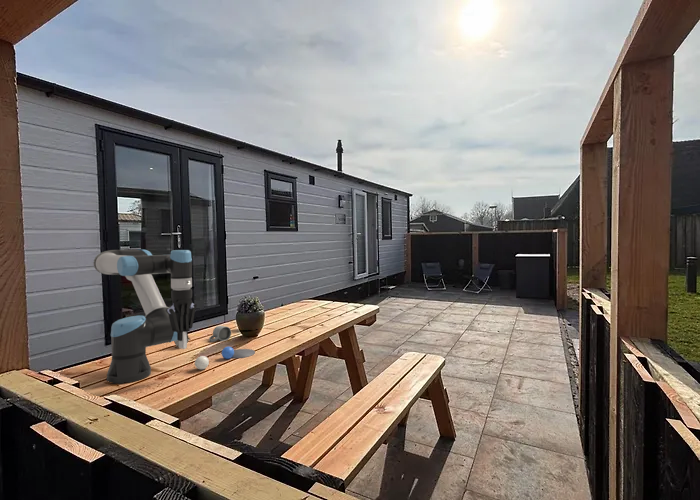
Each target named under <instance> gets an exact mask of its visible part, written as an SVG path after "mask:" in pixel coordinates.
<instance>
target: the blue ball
mask: <svg viewBox="0 0 700 500" xmlns="http://www.w3.org/2000/svg"><path fill="white" fill-rule="evenodd" d="M234 350H235V349H234V348H233V347H232V346H226V347H224V348H222V349H221V356H222V358H223V359H226V360H229V359H232V358H231V357H232V356H233V355H234Z"/></svg>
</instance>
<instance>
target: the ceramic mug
mask: <svg viewBox="0 0 700 500" xmlns="http://www.w3.org/2000/svg"><path fill="white" fill-rule="evenodd" d="M231 336H232V330H231V328H230V327H229V326H225V325H217V326H215V327H214V329H213V331H212V335H211V336H210V337H209V338H208V341H209V342H210V343H214V342H216V341H217V340H218V341H221V342H222V341H223V342H226V341H228V340H229V339H230V338H231Z"/></svg>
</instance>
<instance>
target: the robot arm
mask: <svg viewBox="0 0 700 500" xmlns="http://www.w3.org/2000/svg"><path fill="white" fill-rule="evenodd" d="M92 263H93V268H94V269H95V271H97V272H98V273H100V274H103V275H111V276H114V275H115V276H116V275H117V276H119V275H120V276H122V277H125V278H126V280H128V281H130V282H131V283H132V286H133V288H134V290H135V293H136V295H137V297H138V300H139V302H140V304H141V306H142V309H143V312H144V314H145V315H134V316H133V315H132V316H128V317H127V316H126V317H124V318H120V319H117V320H116V321H114V322H113V323H112V324H111V328H110V337H111V339H110V341H111V344H110V345H111V361H110V364H109V367H108V370H107V373H106V382H107V381H109V382H113V383H112V384H116V383H118V384H125V383H124V382H128V383H133V382H137V381H141V380H143V379H145V378H147V377H149V376H150V375H151V373H152V367H151V363H150V362H149V359H148V357H147V347H154V346H157V345H162V344H167V343H172V342H174V341H176V340H178V341H179V347H178V349H181V350H185V349H188V348H187V347H188V343H187V339H188V337H189V332H190V331H191V329H193V325H194V319H195V313H196V310H197V307H198V304H197V303H193V300H192V298H193V289H192V287H193V278H192V276H193V269H192V267H193V259H192V251H191V250H190V249H175V250H174V249H172V250H171V251H170V254H155V255H154V254H152V252H151V251H149V250H147V249H140V248H137V249H110V250H105V251H102V252H100V253H99V254H97V255H96V256H95V258H94V260H93V262H92ZM159 274H160V275H161V274H170V289H171V291H170V292H171V293H170V295H171V296H170V297H171V300H172V301H171V306H169V307H168V306H167V305H166V303H165V301H164V299H163V298H164V297H162V293H160V290H159V288H158V285H157V284H156V282H155V279H154V276H153V275H159ZM132 381H133V382H132ZM109 382H108V383H109Z"/></svg>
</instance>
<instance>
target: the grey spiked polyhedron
mask: <svg viewBox="0 0 700 500" xmlns="http://www.w3.org/2000/svg"><path fill="white" fill-rule="evenodd" d="M190 340H191V338H190V337H189V336H188V339H187V344H188V343H189V341H190ZM173 342H174V345H175V349H177V348H179V341H178V340H176V341H173Z"/></svg>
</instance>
